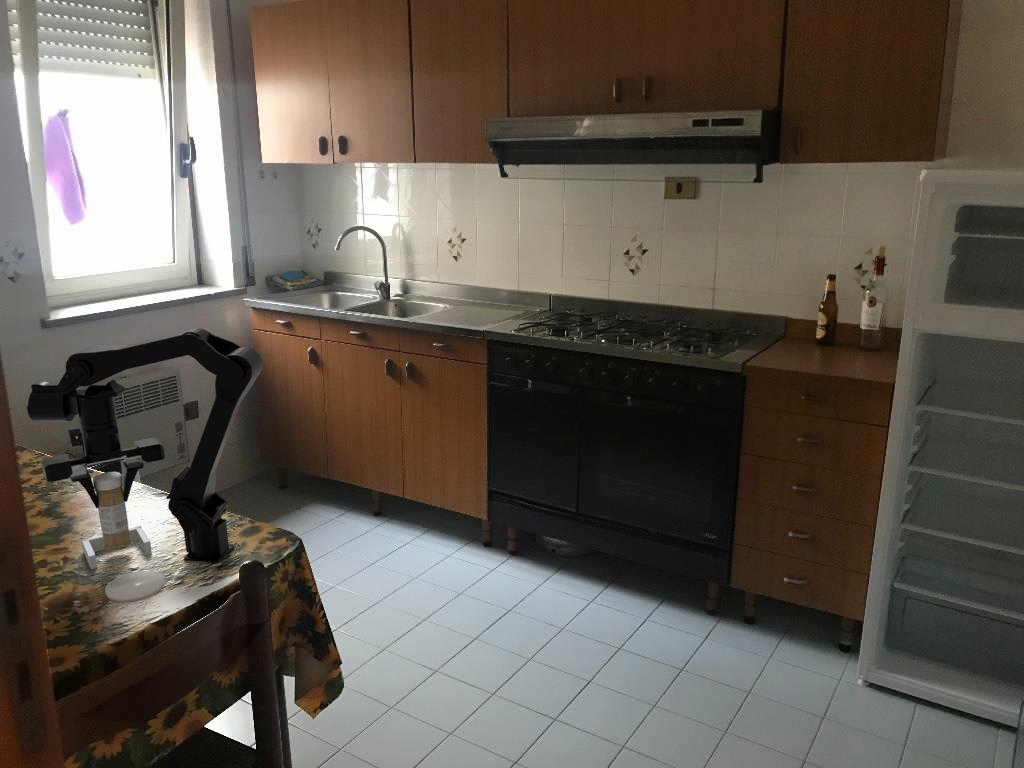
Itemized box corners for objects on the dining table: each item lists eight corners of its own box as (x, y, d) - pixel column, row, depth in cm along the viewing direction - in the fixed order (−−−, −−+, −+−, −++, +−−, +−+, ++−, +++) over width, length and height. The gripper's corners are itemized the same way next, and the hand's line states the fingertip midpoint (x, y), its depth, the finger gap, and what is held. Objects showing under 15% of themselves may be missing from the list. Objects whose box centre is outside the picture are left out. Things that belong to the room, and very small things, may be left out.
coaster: (175, 576, 141) (175, 572, 141) (144, 604, 132) (143, 599, 132) (127, 572, 142) (127, 568, 142) (93, 599, 134) (92, 595, 134)
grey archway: (83, 552, 150) (81, 539, 149) (142, 537, 156) (140, 525, 155) (91, 569, 144) (88, 556, 143) (151, 553, 149) (150, 541, 149)
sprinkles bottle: (125, 537, 151) (114, 468, 148) (135, 545, 148) (125, 475, 145) (99, 546, 148) (88, 476, 145) (109, 554, 145) (98, 482, 142)
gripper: (145, 400, 154) (156, 478, 158) (31, 418, 143) (46, 502, 148) (160, 414, 145) (170, 497, 149) (39, 435, 135) (54, 523, 139)
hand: (111, 504), depth 146 cm, fingers closed on sprinkles bottle, 4 cm apart
